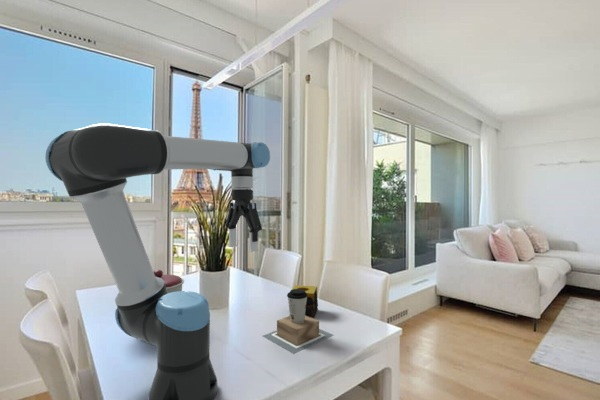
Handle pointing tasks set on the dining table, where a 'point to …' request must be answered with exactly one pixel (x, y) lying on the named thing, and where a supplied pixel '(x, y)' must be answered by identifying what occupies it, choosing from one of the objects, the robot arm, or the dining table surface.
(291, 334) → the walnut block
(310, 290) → the candle
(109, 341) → the dining table surface
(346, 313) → the dining table surface
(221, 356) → the dining table surface
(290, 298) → the coffee cup
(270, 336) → the gray placemat
